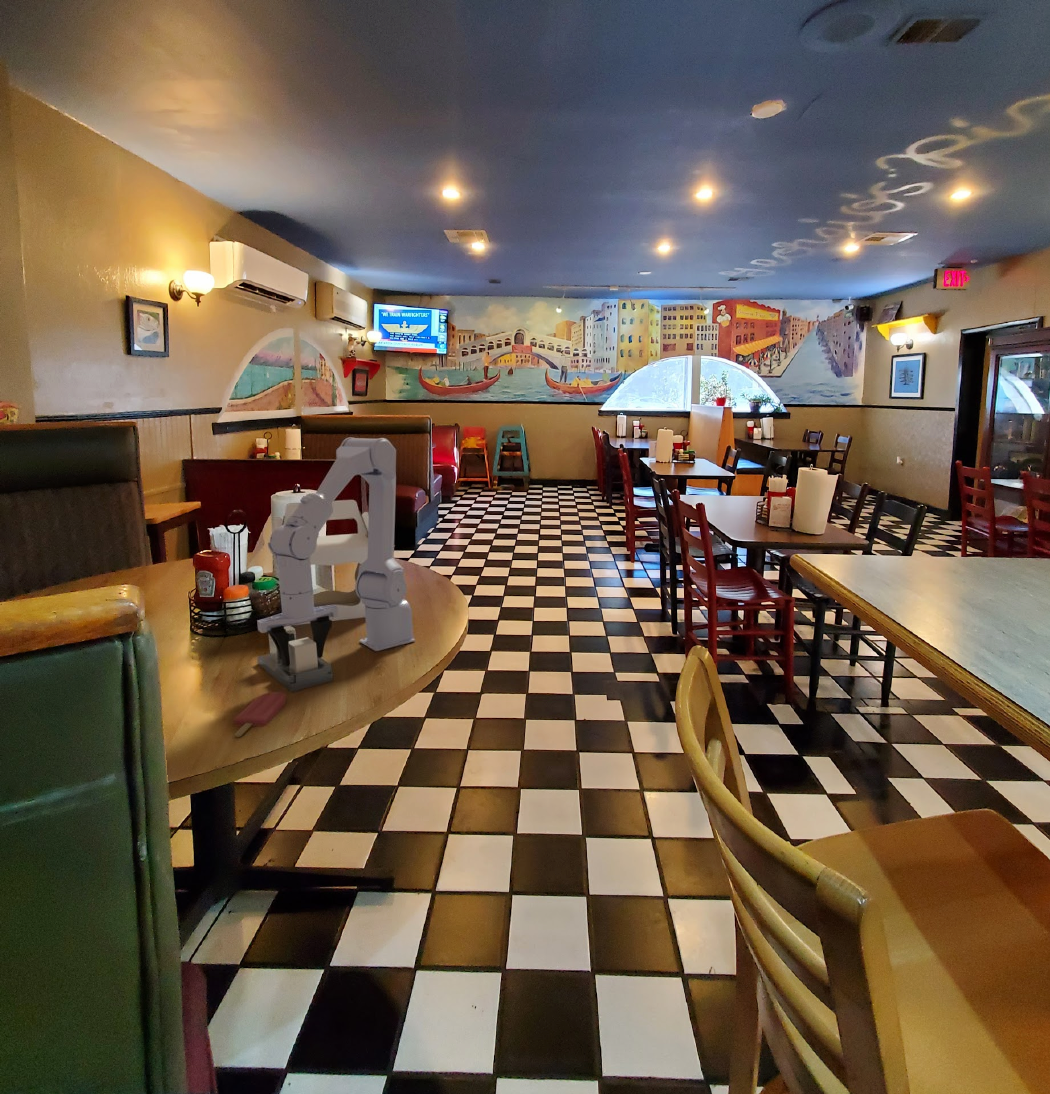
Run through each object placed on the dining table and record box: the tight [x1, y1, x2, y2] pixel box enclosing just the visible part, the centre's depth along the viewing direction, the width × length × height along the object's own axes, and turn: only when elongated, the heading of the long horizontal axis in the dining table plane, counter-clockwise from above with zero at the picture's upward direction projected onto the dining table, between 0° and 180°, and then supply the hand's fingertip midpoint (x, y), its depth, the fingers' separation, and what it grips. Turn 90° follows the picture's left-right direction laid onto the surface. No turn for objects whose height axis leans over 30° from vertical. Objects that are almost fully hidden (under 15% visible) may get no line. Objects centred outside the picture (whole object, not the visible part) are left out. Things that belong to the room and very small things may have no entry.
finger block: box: [289, 636, 318, 674], centre depth 128 cm, size 4×4×6 cm
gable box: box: [274, 499, 369, 627], centre depth 167 cm, size 22×13×28 cm, turn 109°
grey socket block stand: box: [256, 626, 334, 693], centre depth 132 cm, size 8×18×8 cm, turn 39°
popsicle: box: [233, 691, 287, 738], centre depth 114 cm, size 5×2×15 cm
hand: (302, 660), depth 129 cm, fingers open, 6 cm apart
